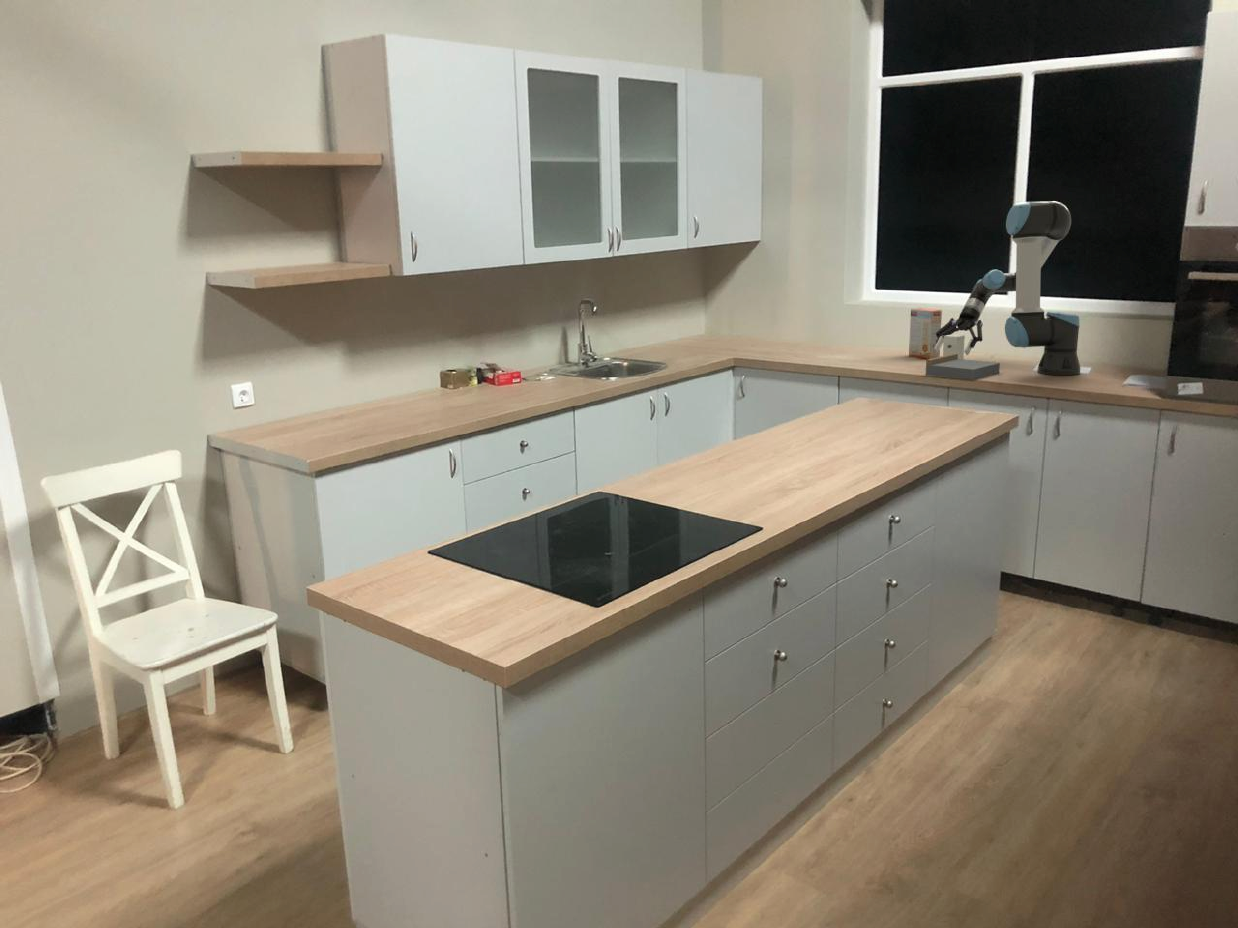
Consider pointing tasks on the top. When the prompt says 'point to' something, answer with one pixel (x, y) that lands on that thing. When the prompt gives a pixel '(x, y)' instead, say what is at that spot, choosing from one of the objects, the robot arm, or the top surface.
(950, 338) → the cabinet block
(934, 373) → the riser
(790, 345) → the top surface
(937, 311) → the cracker box
